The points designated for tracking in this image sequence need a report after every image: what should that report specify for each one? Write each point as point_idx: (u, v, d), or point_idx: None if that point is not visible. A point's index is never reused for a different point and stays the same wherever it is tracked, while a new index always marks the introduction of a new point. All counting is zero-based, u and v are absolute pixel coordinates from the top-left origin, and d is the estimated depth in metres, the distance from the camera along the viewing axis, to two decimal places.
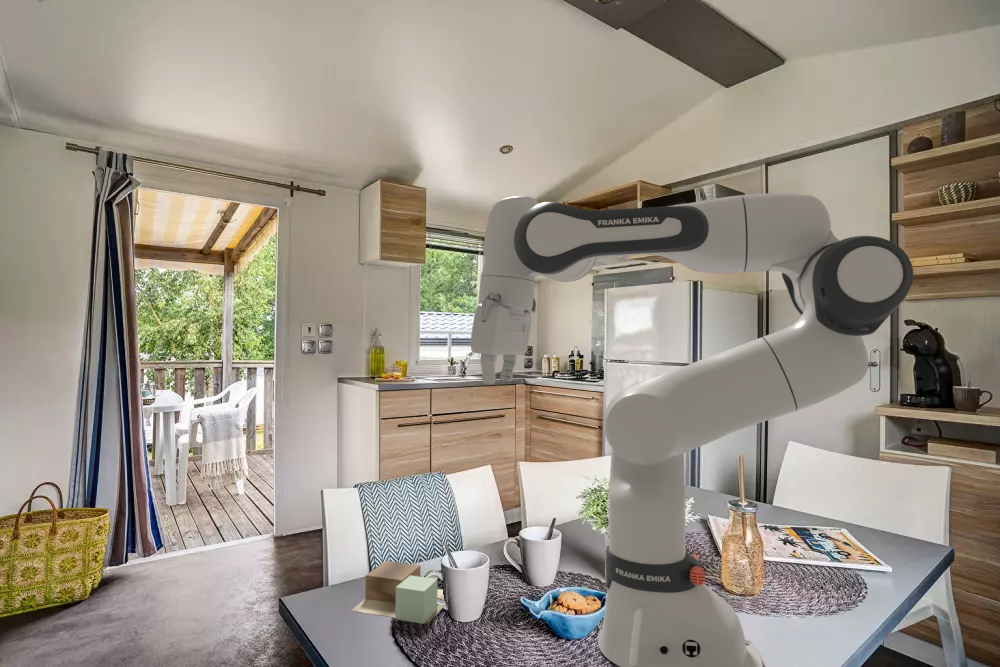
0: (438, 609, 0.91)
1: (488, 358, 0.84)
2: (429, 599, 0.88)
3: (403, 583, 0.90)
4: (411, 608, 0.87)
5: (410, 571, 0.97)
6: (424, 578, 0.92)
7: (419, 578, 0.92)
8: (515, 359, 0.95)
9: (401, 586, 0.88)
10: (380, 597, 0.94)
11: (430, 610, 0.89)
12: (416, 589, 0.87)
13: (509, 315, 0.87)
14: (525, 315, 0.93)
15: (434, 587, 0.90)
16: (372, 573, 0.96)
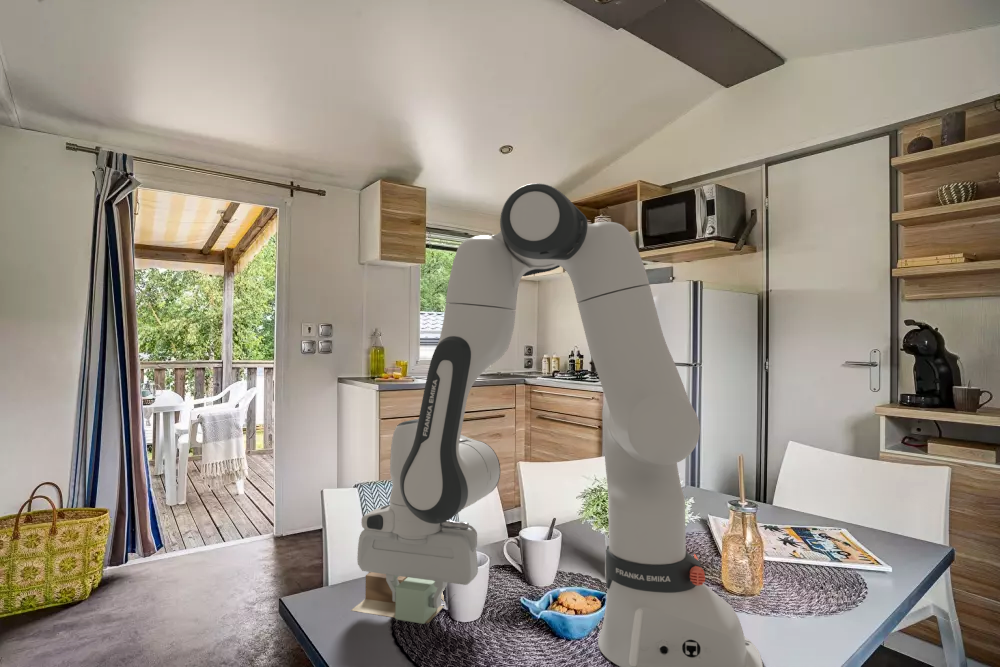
0: (438, 609, 0.91)
1: (445, 582, 0.88)
2: None
3: (403, 583, 0.90)
4: (411, 608, 0.87)
5: None
6: None
7: None
8: None
9: (401, 586, 0.88)
10: (380, 597, 0.94)
11: (430, 610, 0.89)
12: (416, 589, 0.87)
13: None
14: None
15: (434, 587, 0.90)
16: (372, 573, 0.96)
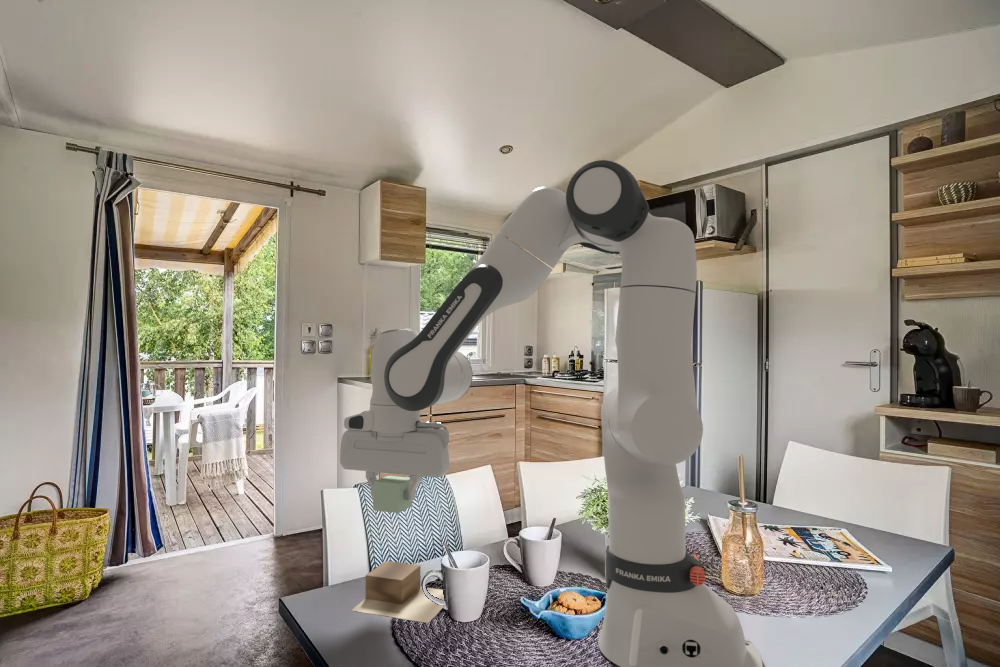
0: (438, 609, 0.91)
1: (419, 478, 0.97)
2: None
3: (381, 479, 0.98)
4: (387, 500, 0.95)
5: (410, 571, 0.97)
6: (400, 477, 1.00)
7: (396, 477, 1.00)
8: None
9: (379, 481, 0.97)
10: (380, 597, 0.94)
11: (405, 503, 0.97)
12: (393, 482, 0.96)
13: None
14: None
15: (409, 484, 0.98)
16: (372, 573, 0.96)
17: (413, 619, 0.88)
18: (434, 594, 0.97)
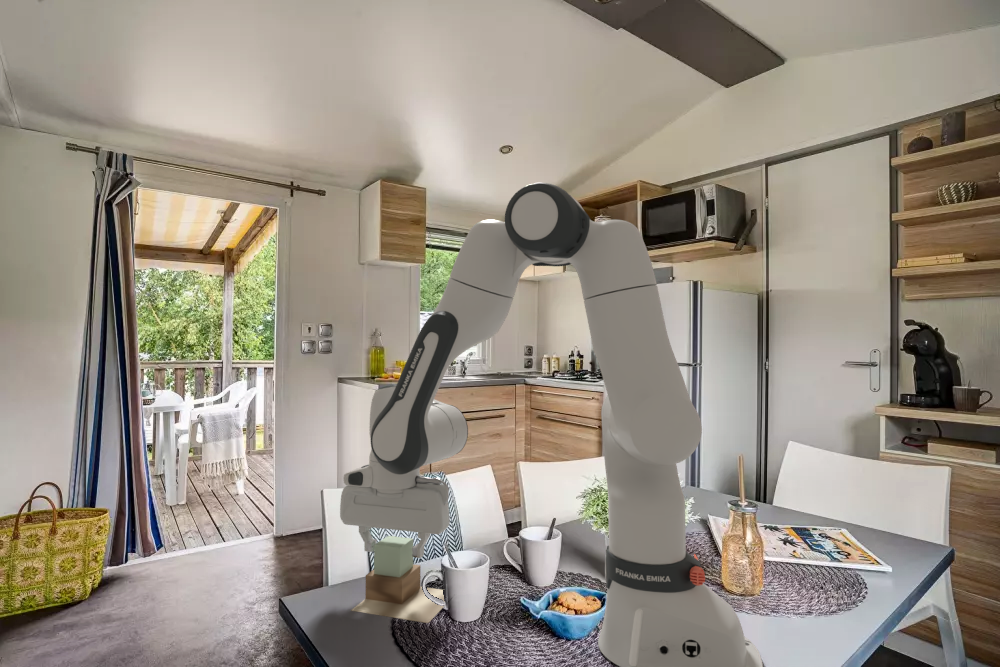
0: (438, 609, 0.91)
1: (428, 534, 0.96)
2: (405, 555, 0.97)
3: (381, 541, 0.98)
4: (388, 564, 0.95)
5: (410, 571, 0.97)
6: (401, 538, 1.00)
7: (396, 538, 1.00)
8: None
9: (379, 544, 0.96)
10: (380, 597, 0.94)
11: (406, 566, 0.97)
12: (393, 546, 0.95)
13: None
14: None
15: (409, 546, 0.98)
16: (372, 573, 0.96)
17: (413, 619, 0.88)
18: (434, 594, 0.97)
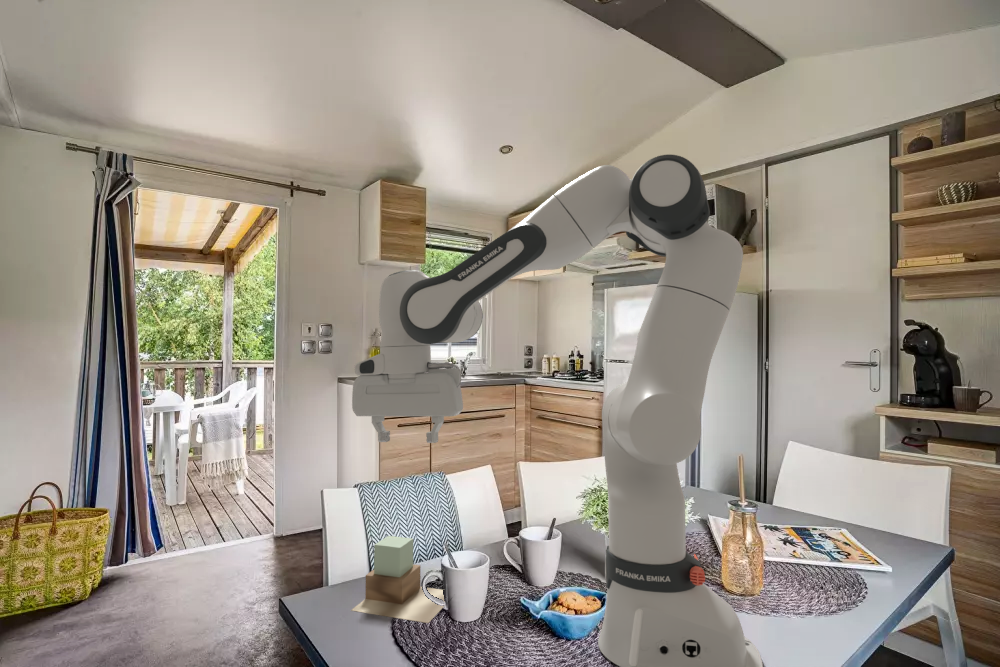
0: (438, 609, 0.91)
1: (441, 419, 0.95)
2: (405, 555, 0.97)
3: (381, 541, 0.98)
4: (388, 564, 0.95)
5: (410, 571, 0.97)
6: (401, 538, 1.00)
7: (396, 538, 1.00)
8: None
9: (379, 544, 0.96)
10: (380, 597, 0.94)
11: (406, 566, 0.97)
12: (393, 546, 0.95)
13: None
14: None
15: (409, 546, 0.98)
16: (372, 573, 0.96)
17: (413, 619, 0.88)
18: (434, 594, 0.97)
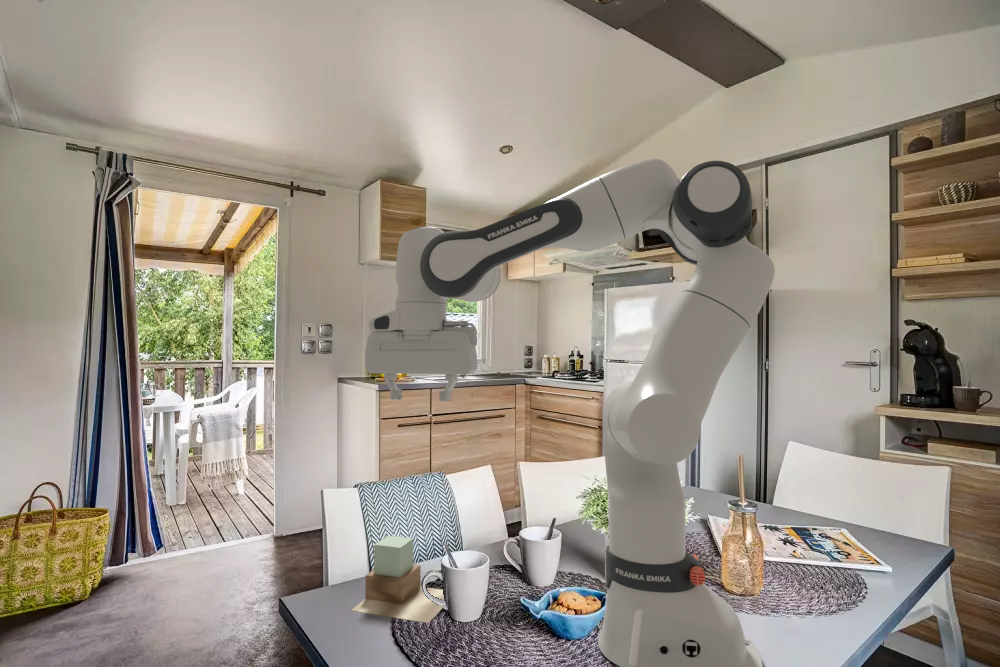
0: (438, 609, 0.91)
1: (455, 378, 0.94)
2: (405, 555, 0.97)
3: (381, 541, 0.98)
4: (388, 564, 0.95)
5: (410, 571, 0.97)
6: (401, 538, 1.00)
7: (396, 538, 1.00)
8: None
9: (379, 544, 0.96)
10: (380, 597, 0.94)
11: (406, 566, 0.97)
12: (393, 546, 0.95)
13: None
14: None
15: (409, 546, 0.98)
16: (372, 573, 0.96)
17: (413, 619, 0.88)
18: (434, 594, 0.97)
